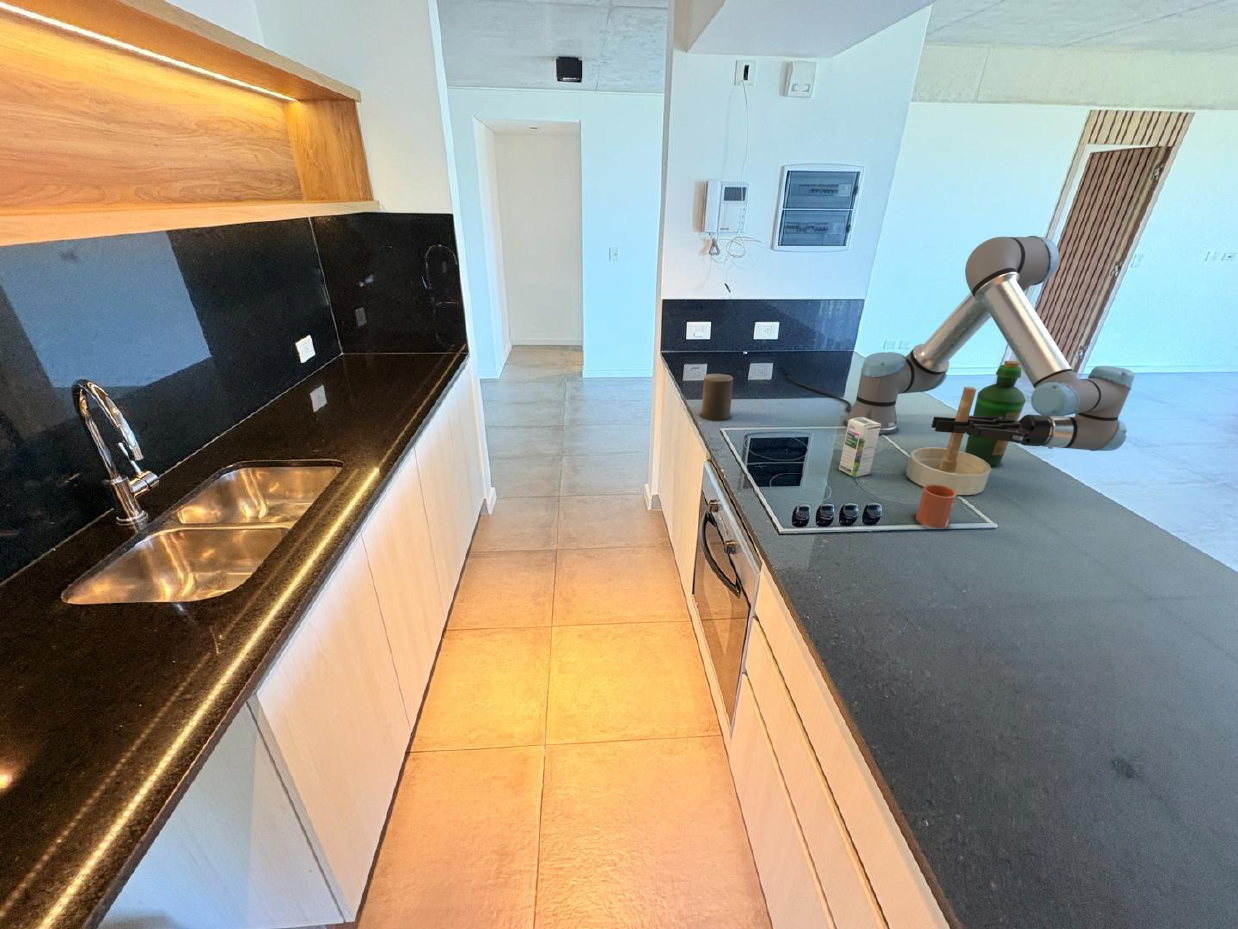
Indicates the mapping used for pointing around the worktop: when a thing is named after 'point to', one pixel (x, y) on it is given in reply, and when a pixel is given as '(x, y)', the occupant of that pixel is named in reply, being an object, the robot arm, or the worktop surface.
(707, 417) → the pillar candle
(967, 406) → the stirring stick
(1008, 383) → the bottle
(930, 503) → the utensil pot
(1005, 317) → the robot arm
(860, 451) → the syrup box
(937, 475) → the bowl
